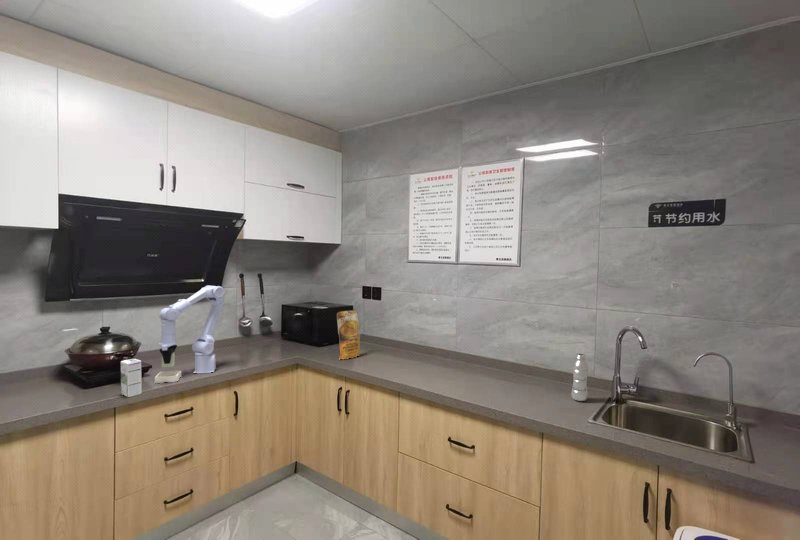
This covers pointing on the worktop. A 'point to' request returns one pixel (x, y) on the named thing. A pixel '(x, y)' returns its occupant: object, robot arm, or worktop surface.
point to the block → (172, 361)
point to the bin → (167, 376)
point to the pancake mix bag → (348, 334)
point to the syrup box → (131, 377)
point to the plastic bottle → (580, 378)
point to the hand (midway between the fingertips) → (168, 362)
